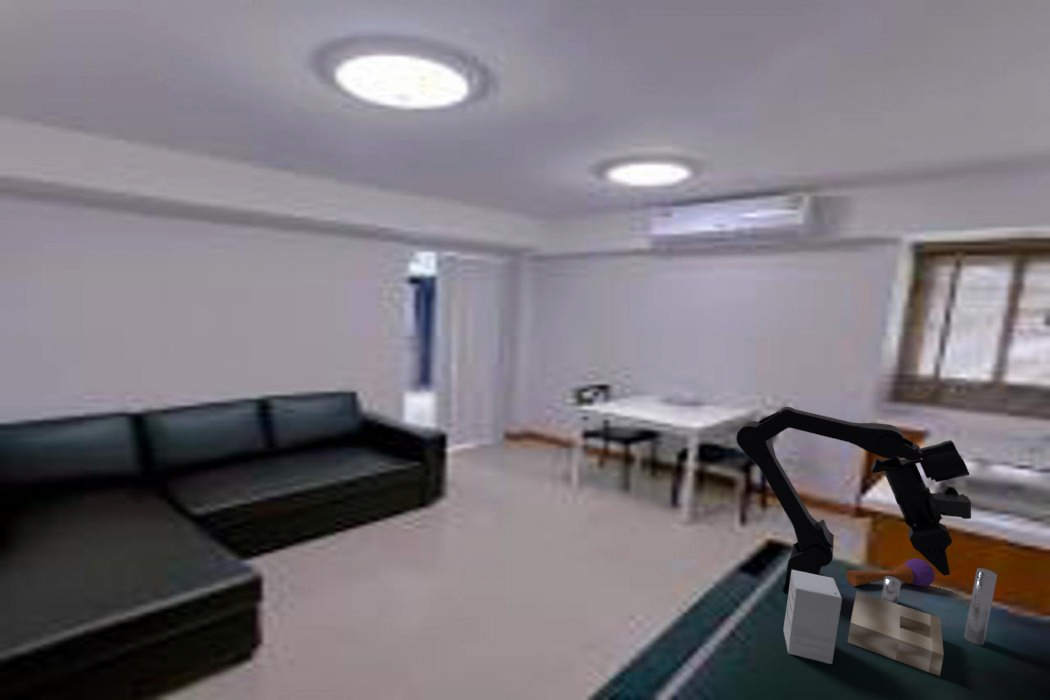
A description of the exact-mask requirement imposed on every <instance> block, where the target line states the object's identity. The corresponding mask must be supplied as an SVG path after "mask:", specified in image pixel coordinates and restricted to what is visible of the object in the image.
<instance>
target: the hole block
mask: <svg viewBox="0 0 1050 700" xmlns="http://www.w3.org/2000/svg"><path fill="white" fill-rule="evenodd" d="M942 634H943V633H942V625H941V618H940V617H938V616H934V615H933V614H932V615H931V614H929V613H926V612H923V611H920V610H916V609H913V608H912V607H911V608H910V607H907V606H905V605H901V604H895V603H892V602H889V601H886V600H883V599H881V597H880V598H879V597H877V596H874V595H870V594H867V593H864V592H860V591H857V590H856V592H855V597H854V602H853V608H852V613H851V618H850V623H849V630H848V636H847V643H848V644H850V645H851V644H852V645H854V646H856V647H860V648H862V649H865V650H866V651H867V650H868V651H870V652H872V653H875V654H879V655H881V656H884V657H886V658H888V659H891V660H895V661H897V662H899V663H903V664H905V665H908V666H910V667H913V668H916V669H918V670H921V671H923V672H927V673H929V674H933V675H936V676H938V677H940V676H941V673H942V665H943V662H944V661H943V660H944V644H943V635H942Z"/></svg>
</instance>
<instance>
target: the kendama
mask: <svg viewBox="0 0 1050 700" xmlns="http://www.w3.org/2000/svg"><path fill="white" fill-rule="evenodd" d="M885 576H891V577H895V578H897V579H899V580H900V581H901V583H902V582H903V583H905V584H909V585H910V584H911V585H913V586H917V587H919V588H920V587H921V588H923V587H928V586H931V585H932V584H933V583H934V581H935V579H936V578H935V577H936V574H935V570H934V568H933V567H932V565H930V563H928V562H927V561H925V560H923V559H921V558H910V559H909V560H907V561H905V563H901V564H900V565H898V566H897V567H896V568H895V569H894V570H892V571H887V572H886V571H869V570H868V571H865V570H864V571H863V570H861V571H859V570H848V571H847V572H846V576H845V577H846V581H847V583H848V584H849V585H851V586H852V587H855V588H856V587H857V586H863V585H867V584H872V583H876V582H880V581H884V578H885Z"/></svg>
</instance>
